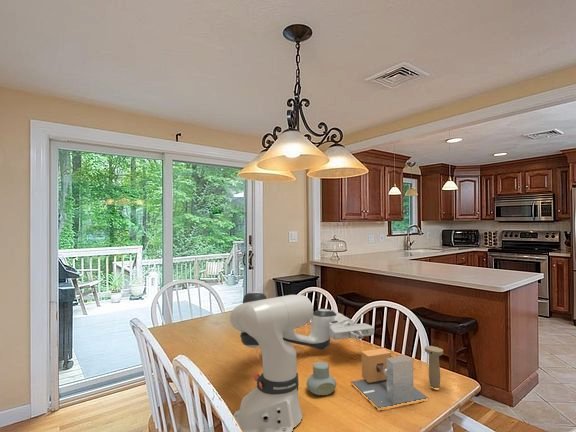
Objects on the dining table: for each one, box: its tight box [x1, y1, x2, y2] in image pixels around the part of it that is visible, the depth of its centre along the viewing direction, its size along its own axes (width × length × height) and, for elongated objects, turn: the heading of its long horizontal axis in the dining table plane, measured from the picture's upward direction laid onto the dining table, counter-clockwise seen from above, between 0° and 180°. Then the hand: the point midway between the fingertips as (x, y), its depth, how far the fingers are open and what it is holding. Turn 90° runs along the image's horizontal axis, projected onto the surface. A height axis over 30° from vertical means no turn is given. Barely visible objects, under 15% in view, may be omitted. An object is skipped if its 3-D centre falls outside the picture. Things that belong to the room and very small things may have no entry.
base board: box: [350, 378, 429, 408], centre depth 121 cm, size 20×19×1 cm
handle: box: [424, 345, 444, 388], centre depth 123 cm, size 5×6×15 cm
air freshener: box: [306, 361, 337, 396], centre depth 123 cm, size 11×8×10 cm
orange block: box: [361, 347, 392, 383], centre depth 129 cm, size 10×5×10 cm, turn 107°
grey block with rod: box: [376, 355, 415, 405], centre depth 120 cm, size 8×16×14 cm, turn 17°
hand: (360, 337), depth 141 cm, fingers closed
